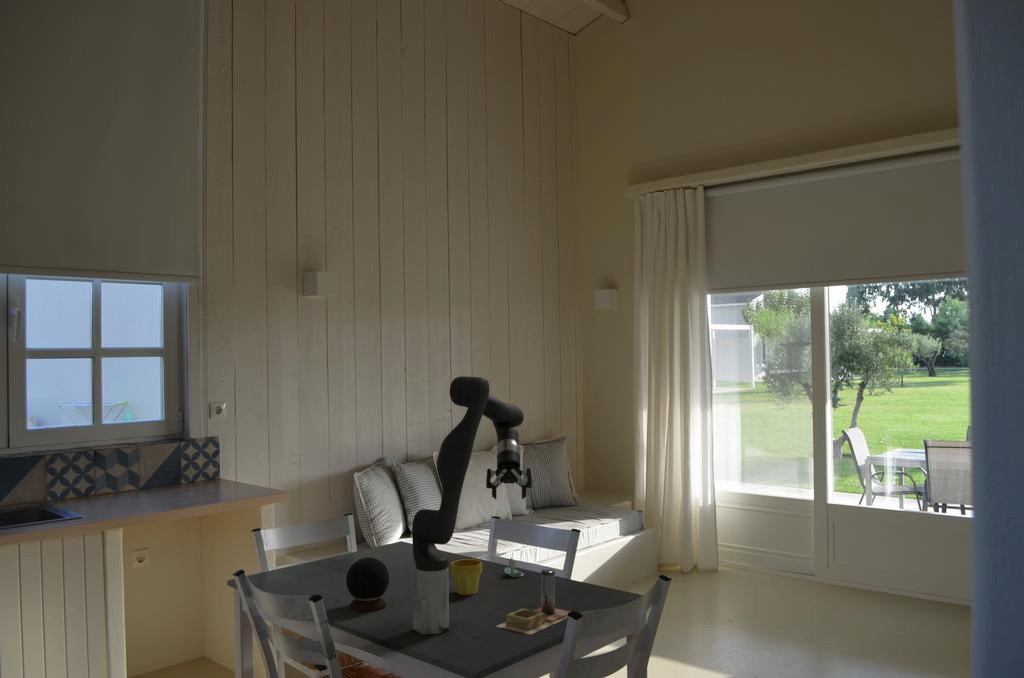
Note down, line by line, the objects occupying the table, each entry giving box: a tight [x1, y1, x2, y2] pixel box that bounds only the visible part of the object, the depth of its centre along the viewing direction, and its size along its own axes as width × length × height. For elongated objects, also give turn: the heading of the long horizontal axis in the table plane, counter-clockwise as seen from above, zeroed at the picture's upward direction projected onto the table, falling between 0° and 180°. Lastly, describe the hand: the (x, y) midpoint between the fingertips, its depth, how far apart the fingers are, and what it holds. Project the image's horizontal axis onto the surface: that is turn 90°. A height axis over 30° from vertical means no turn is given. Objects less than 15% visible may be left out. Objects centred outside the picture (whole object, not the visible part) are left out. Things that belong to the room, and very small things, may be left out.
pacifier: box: [504, 558, 525, 578], centre depth 285 cm, size 7×6×6 cm
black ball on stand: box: [345, 556, 390, 613], centre depth 249 cm, size 13×13×15 cm
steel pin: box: [540, 569, 556, 615], centre depth 234 cm, size 4×4×12 cm
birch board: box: [495, 607, 571, 635], centre depth 230 cm, size 23×12×4 cm, turn 142°
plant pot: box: [450, 558, 483, 596], centre depth 263 cm, size 10×10×10 cm
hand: (509, 497), depth 248 cm, fingers open, 8 cm apart
